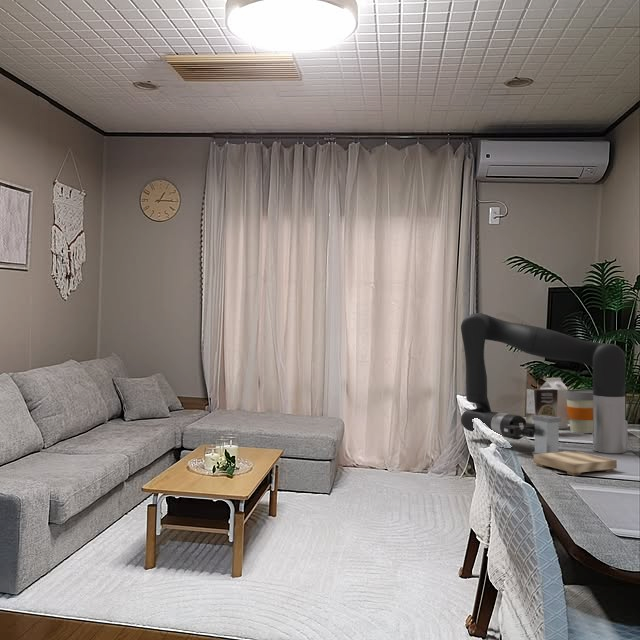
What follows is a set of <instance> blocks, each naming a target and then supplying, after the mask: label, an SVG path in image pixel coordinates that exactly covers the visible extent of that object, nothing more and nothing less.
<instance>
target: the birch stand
mask: <svg viewBox="0 0 640 640" xmlns="http://www.w3.org/2000/svg"><path fill="white" fill-rule="evenodd" d="M617 462H618V461H617V459H613V458H609V457H605V456H600V455H595V454H591V453H587V452H582V451H577V450H567V451H559V452H555V453H544V454H534V456H533V463H535V465H536V466H537V467H541V468H547V467H550V468H553V469H558V470H560V471H565V472H567V473H566V474H567V475H570V476H573V477H574V476H581V475H582V473H585V472H586V473H587V472H596V471H597V472H598V471H602V472H605V473H606V472H607V473H609V472H610V473H611V472H614V471H615V469H617V466H618V465H617Z"/></svg>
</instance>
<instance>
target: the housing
mask: <svg viewBox="0 0 640 640" xmlns="http://www.w3.org/2000/svg"><path fill="white" fill-rule="evenodd" d="M532 420H535V435H534V451H531V452H532V453H531V454H532V457H534V454H544V453H555V452H560V451H559V442H560V441H559V440H560V439H559V438H560V437H559V435H560V434H559V431H560V429H559V422H561V418H559V417H553V416H547V415H536V416H532Z"/></svg>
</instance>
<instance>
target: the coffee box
mask: <svg viewBox="0 0 640 640" xmlns="http://www.w3.org/2000/svg"><path fill="white" fill-rule="evenodd" d="M557 401H558V390H556V389H540V388H526V413H525V414H526V417H525V418H526V419H525V420H526V422H531V423H535V420H532V416H536V415H547V416H553V417H557Z"/></svg>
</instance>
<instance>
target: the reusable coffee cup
mask: <svg viewBox="0 0 640 640" xmlns="http://www.w3.org/2000/svg"><path fill="white" fill-rule="evenodd" d="M566 398H567V406H566V407H567V415H568V420H569V421H568V422H569V428H570V432H571V431H573V432H579V433H578V434H580V433H593V389H575V388H574V389H568V390H566ZM573 432H572V433H573Z"/></svg>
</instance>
